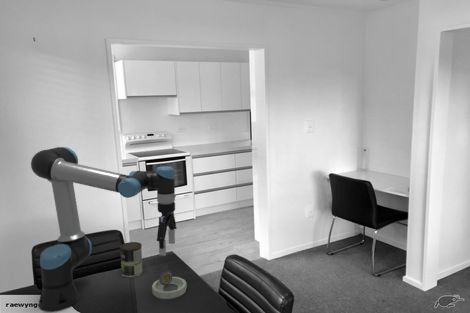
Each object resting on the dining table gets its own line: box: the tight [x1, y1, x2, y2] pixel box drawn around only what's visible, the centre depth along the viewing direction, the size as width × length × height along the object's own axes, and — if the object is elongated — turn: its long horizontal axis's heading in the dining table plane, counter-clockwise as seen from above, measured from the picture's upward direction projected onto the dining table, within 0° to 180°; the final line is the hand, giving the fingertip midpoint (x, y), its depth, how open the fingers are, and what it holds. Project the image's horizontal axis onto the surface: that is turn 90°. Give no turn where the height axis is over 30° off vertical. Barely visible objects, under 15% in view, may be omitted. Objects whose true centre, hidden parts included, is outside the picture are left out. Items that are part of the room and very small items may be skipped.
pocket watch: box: [158, 265, 178, 291], centre depth 164 cm, size 8×8×10 cm
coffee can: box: [119, 241, 144, 278], centre depth 183 cm, size 10×10×14 cm
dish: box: [151, 276, 188, 300], centre depth 165 cm, size 15×15×3 cm
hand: (167, 249), depth 162 cm, fingers open, 13 cm apart
